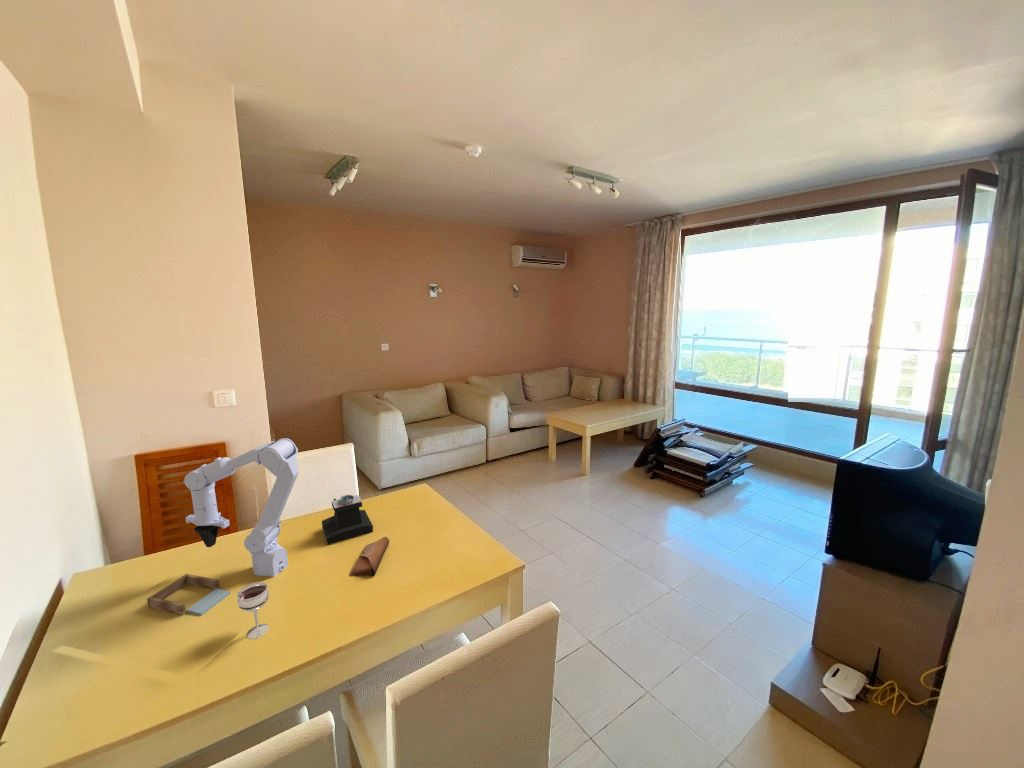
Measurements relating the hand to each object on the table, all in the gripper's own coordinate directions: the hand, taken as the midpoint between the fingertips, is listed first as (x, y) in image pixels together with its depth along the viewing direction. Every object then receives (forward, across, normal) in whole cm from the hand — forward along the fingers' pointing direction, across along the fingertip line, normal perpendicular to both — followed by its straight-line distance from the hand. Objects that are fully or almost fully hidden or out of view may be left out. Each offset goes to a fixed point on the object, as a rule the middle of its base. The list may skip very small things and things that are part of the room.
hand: (211, 545), depth 128 cm
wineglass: (+10, -33, +17) cm, 38 cm away
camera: (+10, -25, -32) cm, 42 cm away
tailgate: (+8, -10, +12) cm, 18 cm away
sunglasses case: (+10, -44, -17) cm, 49 cm away
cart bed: (+9, -4, +12) cm, 16 cm away
